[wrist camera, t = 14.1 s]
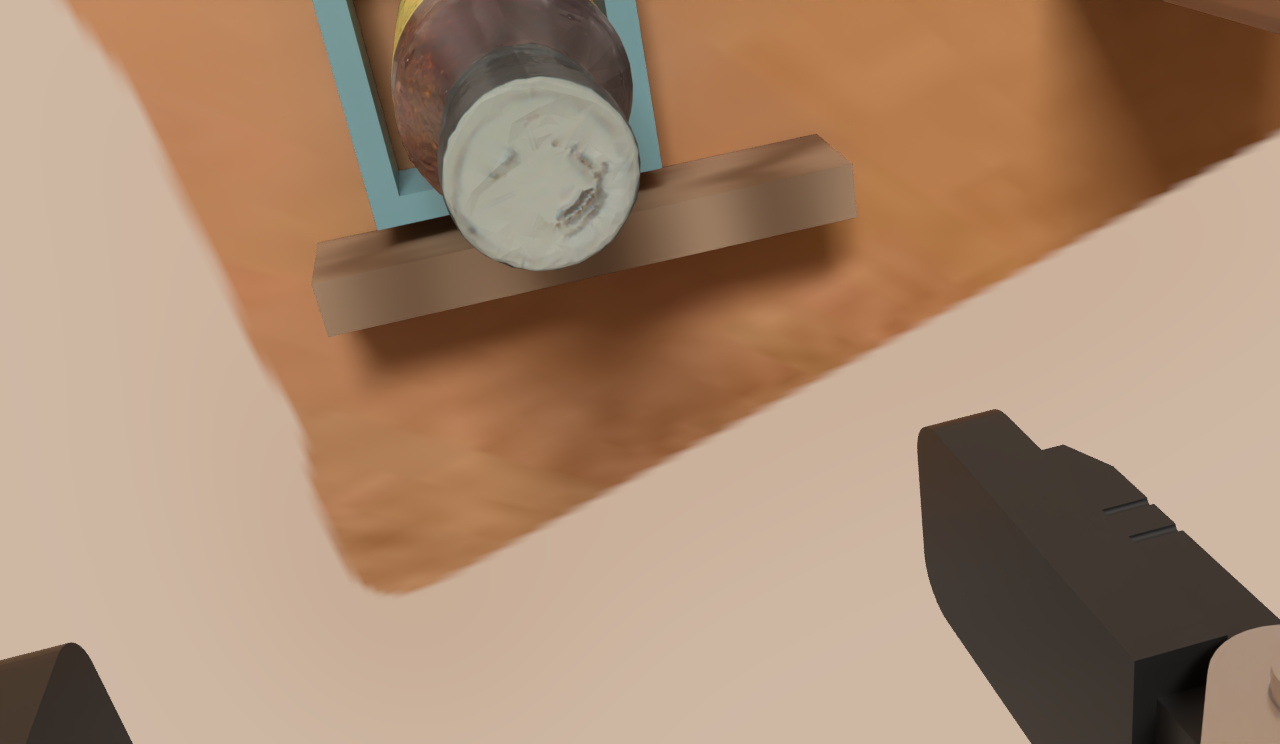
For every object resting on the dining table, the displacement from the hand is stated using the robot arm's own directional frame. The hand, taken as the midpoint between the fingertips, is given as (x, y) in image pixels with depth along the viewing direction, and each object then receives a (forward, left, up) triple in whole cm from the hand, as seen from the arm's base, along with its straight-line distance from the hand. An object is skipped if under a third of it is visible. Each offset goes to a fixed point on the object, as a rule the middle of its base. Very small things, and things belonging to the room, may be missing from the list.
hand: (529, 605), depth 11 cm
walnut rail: (-4, +8, -33) cm, 34 cm away
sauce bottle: (-2, +1, -34) cm, 33 cm away
